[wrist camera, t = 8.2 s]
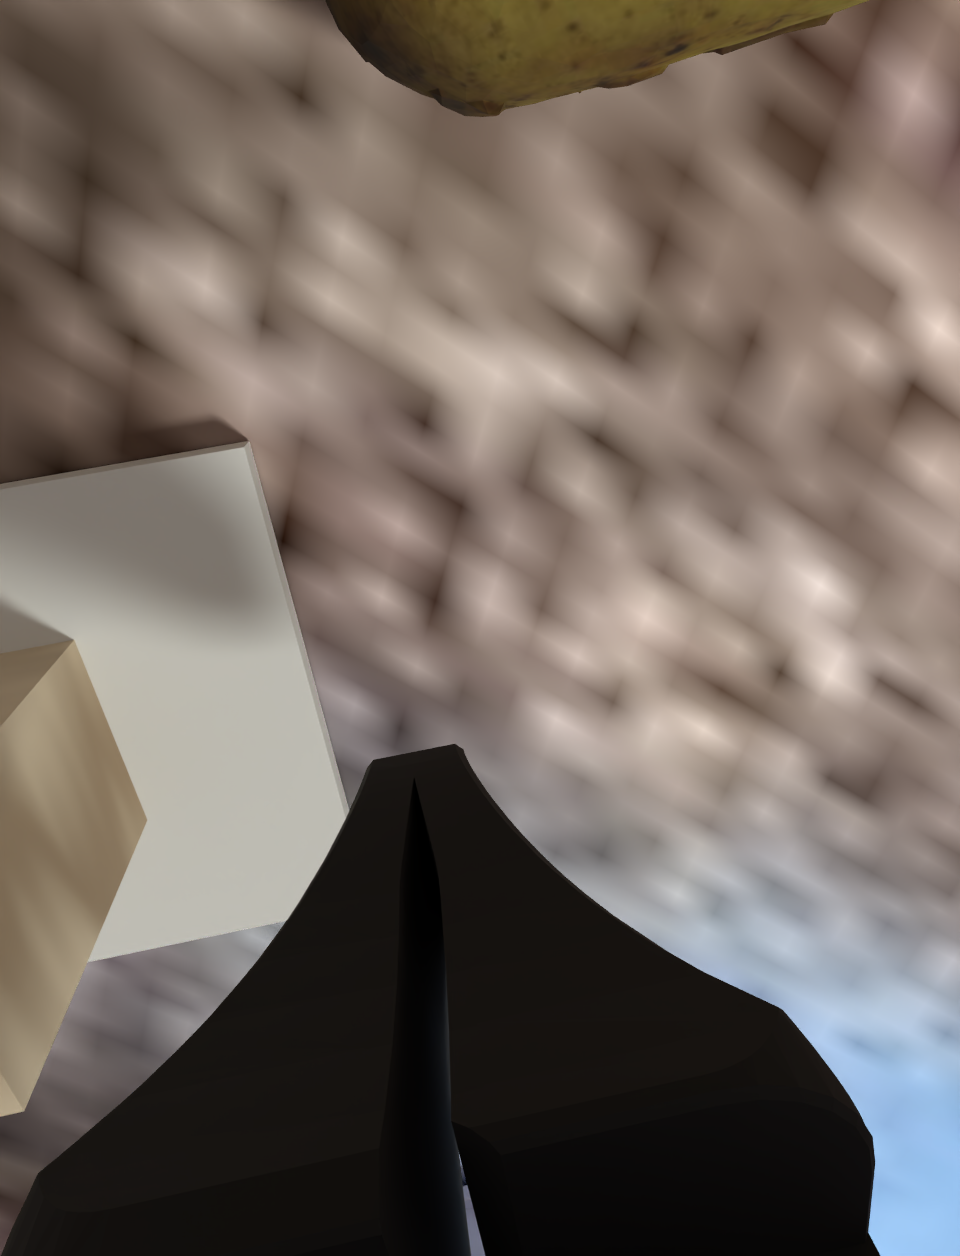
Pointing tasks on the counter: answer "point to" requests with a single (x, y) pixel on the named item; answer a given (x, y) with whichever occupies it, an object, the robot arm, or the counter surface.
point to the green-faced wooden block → (53, 848)
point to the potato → (553, 42)
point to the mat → (183, 681)
